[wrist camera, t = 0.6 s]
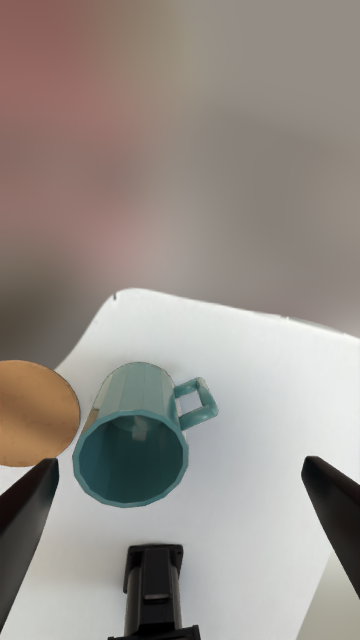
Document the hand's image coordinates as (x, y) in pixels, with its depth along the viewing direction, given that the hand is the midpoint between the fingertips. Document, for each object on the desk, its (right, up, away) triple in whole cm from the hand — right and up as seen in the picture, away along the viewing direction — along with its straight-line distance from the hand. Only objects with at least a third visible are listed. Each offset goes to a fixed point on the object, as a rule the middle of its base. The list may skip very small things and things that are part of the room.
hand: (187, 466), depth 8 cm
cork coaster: (-16, -4, +14) cm, 21 cm away
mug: (-3, -2, +15) cm, 15 cm away
